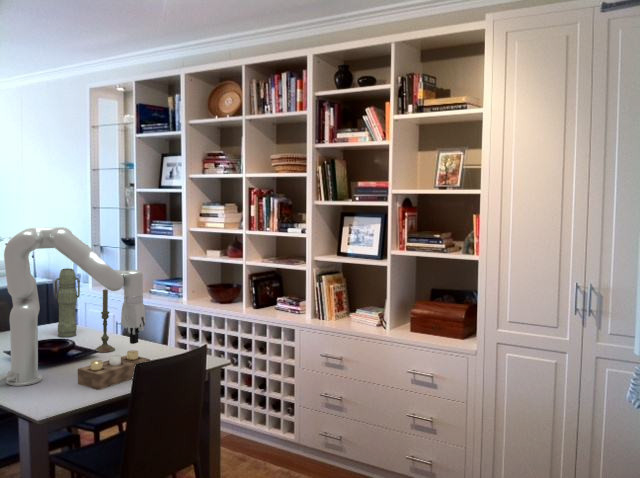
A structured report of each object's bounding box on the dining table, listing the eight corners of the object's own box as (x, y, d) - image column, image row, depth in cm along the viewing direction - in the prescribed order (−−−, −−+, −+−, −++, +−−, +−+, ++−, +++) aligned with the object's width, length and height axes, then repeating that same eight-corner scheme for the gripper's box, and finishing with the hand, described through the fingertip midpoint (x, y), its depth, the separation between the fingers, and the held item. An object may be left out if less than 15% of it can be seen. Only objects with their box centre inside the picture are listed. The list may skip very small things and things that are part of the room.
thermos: (53, 334, 299) (53, 268, 297) (78, 332, 305) (78, 267, 302) (55, 338, 292) (55, 270, 289) (80, 336, 297) (80, 269, 295)
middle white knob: (114, 372, 230) (114, 358, 229) (107, 370, 232) (107, 356, 232) (123, 369, 234) (123, 356, 233) (115, 367, 236) (115, 354, 235)
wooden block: (98, 389, 219) (98, 374, 218) (77, 383, 225) (77, 368, 224) (149, 373, 241) (150, 359, 241) (130, 368, 247) (130, 354, 247)
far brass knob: (132, 366, 237) (132, 353, 237) (124, 364, 240) (124, 352, 239) (140, 364, 241) (140, 351, 241) (133, 362, 243) (133, 349, 243)
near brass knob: (95, 377, 222) (95, 363, 222) (88, 375, 224) (88, 361, 224) (104, 375, 226) (105, 361, 225) (97, 372, 228) (97, 359, 228)
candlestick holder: (93, 353, 268) (93, 289, 265) (95, 348, 276) (96, 286, 274) (114, 352, 270) (114, 289, 268) (115, 347, 279) (116, 286, 277)
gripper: (114, 299, 239) (114, 342, 241) (139, 303, 232) (139, 347, 233) (128, 296, 246) (128, 338, 247) (153, 300, 238) (153, 343, 239)
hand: (134, 343), depth 240 cm, fingers closed
